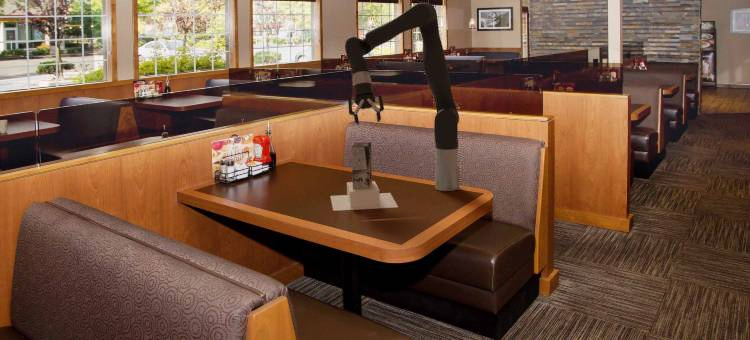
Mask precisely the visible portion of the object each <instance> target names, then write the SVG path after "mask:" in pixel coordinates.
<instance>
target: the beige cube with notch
mask: <svg viewBox="0 0 750 340" xmlns="http://www.w3.org/2000/svg"><path fill="white" fill-rule="evenodd" d="M346 195H347V198H348V201H349V205H350V207H367V206H380V189H379V187H378V185H377V183H376V181H375V180H372V184H371V186H370V187H369V189H353V181H349V182H346Z"/></svg>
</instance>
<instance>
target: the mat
mask: <svg viewBox="0 0 750 340" xmlns="http://www.w3.org/2000/svg"><path fill="white" fill-rule="evenodd" d="M329 197H330V201H331V206H332V211H333V212H334V211H335V212H338V211H340V212H341V211H354V210H357V211H358V210H370V209H371V210H372V209H389V208H391V209H392V208H393V209H394V208H398V207H399V206H398V204H397V202H396V201H395V199H394V196H393V195H392V194H391V192H382V193H380V206H367V207H350V205H349V201H348V198H347V194H343V195H330V196H329Z"/></svg>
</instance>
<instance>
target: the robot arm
mask: <svg viewBox="0 0 750 340" xmlns="http://www.w3.org/2000/svg"><path fill="white" fill-rule="evenodd" d="M418 28H419V31H420V35H421V39H422V56H421V57H422V58H421V59H422V60H421V61H422V66H423V70H424V75H425V79H426V82H427V84H428V86H429V89H430V91H431V92H432V93H431V94H432V96H433V98H434V102H435V108H436V114H435V116H434V121H433V122H434V126H433V127H434V129H433V130H434V145H435V151H434V152H435V157H434V158H435V162H434V166H435V167H434V168H435V169H434V170H435V172H434V173H435V174H434V175H435V176H434V177H435V178H434V181H435V183H434V186H435V187H434V189H435V190H437V191H441V192H452V191H457V190H459V191H460V166H459V139H458V138H459V136H458V135H459V134H458V133H459V132H458V129H459V128H458V127H459V125H458V124H459V122H460V115H459V111H458V108H457V105H456V103H455V99H454V97H453V93H452V92H453V91H452V86H451V84H452V83H451V79H450V74H449V69H448V63H447V59H446V56H445V51H444V48H443V47H444V46H443V43H442V40H441V35H440V29H439V20H438V13H437V10H436V8H435V6H434V5H433V4H432V3H429V2H418V3H415V4H414V5H413V6H411V7H410V8H408V9H407V10H406V11H404V12H403V13H401V14H400V15H398V16H397V17H395V18H393V19H391V20H389V21H387V22H385V23H383V24H381V25H378V26H376V27H374V28H373V29H372V28H371V30H368V31H367V32H366V33H365V36H364V38H359V37H357V36H353V35H352V36H350V37H348V38H347V39H345V40H346V41H345V43H344V49H345V54H346V56H347V59H348V62H349V64H350V68H351V74H352V86H353V91H354V99H351V98H350V99H348V101H347V106H348V114H349V116H353V119H354V123H355V124H356V125H360V122H359V115H358V114H359V111H360V110H362V111H363V110H366V109H368V110H369V109H372V110H373V111H374V112H375V115H376V121H377V123H380V121H381V120H382V116H381V112H383V111H384V109H385V105H384V102H383V96H381V95H378V96H375V95H374V90H373V85H372V83H373V82H372V78H371V74H370V68H369V64H368V60H366V58H364V56H367V55H368V54H369V53H370V52H371V51H373V50H375V48H377V47H380V46H381V45H384V44H385V43H387V42H389V41H391V40H393V39H394V38H395V37H397V36H399V35H400V34H402V33H405V32H407V31H410V30H413V29H418ZM375 101H376V102H377V103H378V105H379V107H378V106H377V104H375ZM354 104H355V105H356V106H357V107H356V108H355V110H354V111H353V106H354Z"/></svg>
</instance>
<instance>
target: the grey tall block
mask: <svg viewBox="0 0 750 340" xmlns="http://www.w3.org/2000/svg"><path fill="white" fill-rule="evenodd" d="M372 165H373V163H372V142H355V143H353V144H352V146H351V169H352V170H351V175H352V180H351V182H353V189H369V187H370V186H371V184H372V181H373V166H372Z"/></svg>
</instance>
